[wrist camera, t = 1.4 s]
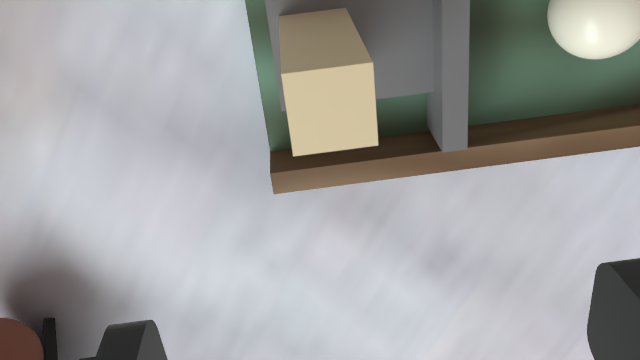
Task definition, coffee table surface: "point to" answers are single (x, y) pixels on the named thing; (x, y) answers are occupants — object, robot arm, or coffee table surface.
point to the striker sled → (369, 67)
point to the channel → (474, 105)
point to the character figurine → (27, 341)
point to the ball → (594, 26)
